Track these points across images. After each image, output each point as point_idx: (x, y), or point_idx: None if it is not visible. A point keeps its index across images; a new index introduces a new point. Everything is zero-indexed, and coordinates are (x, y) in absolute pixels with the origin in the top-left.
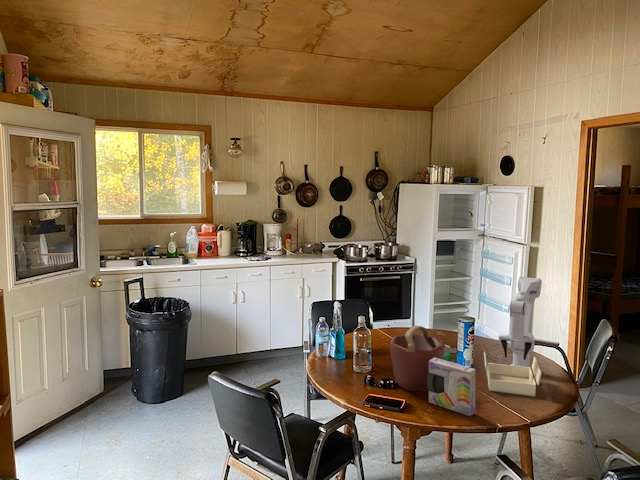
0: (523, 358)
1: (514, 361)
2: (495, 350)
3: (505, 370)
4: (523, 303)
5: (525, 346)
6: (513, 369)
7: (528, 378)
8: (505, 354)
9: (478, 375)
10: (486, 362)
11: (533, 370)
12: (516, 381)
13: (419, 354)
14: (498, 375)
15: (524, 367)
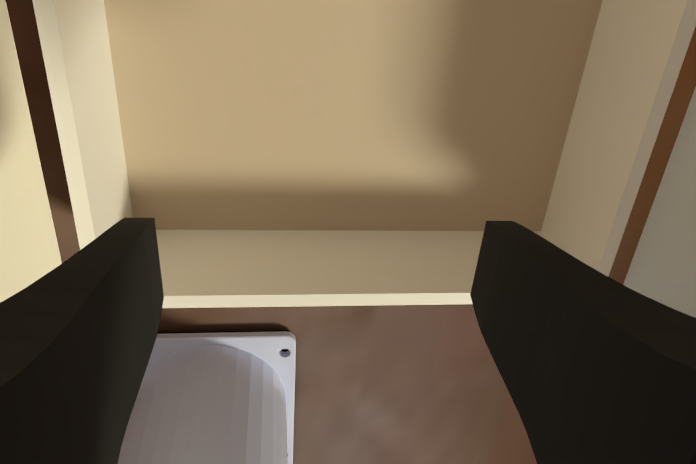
0: (160, 276)
1: (274, 437)
2: None
3: (386, 255)
4: None
5: (1, 429)
6: (300, 269)
7: (135, 201)
8: (546, 242)
9: (652, 156)
10: (657, 255)
11: (25, 159)
12: (277, 67)
13: None
14: (454, 190)
15: (167, 294)
